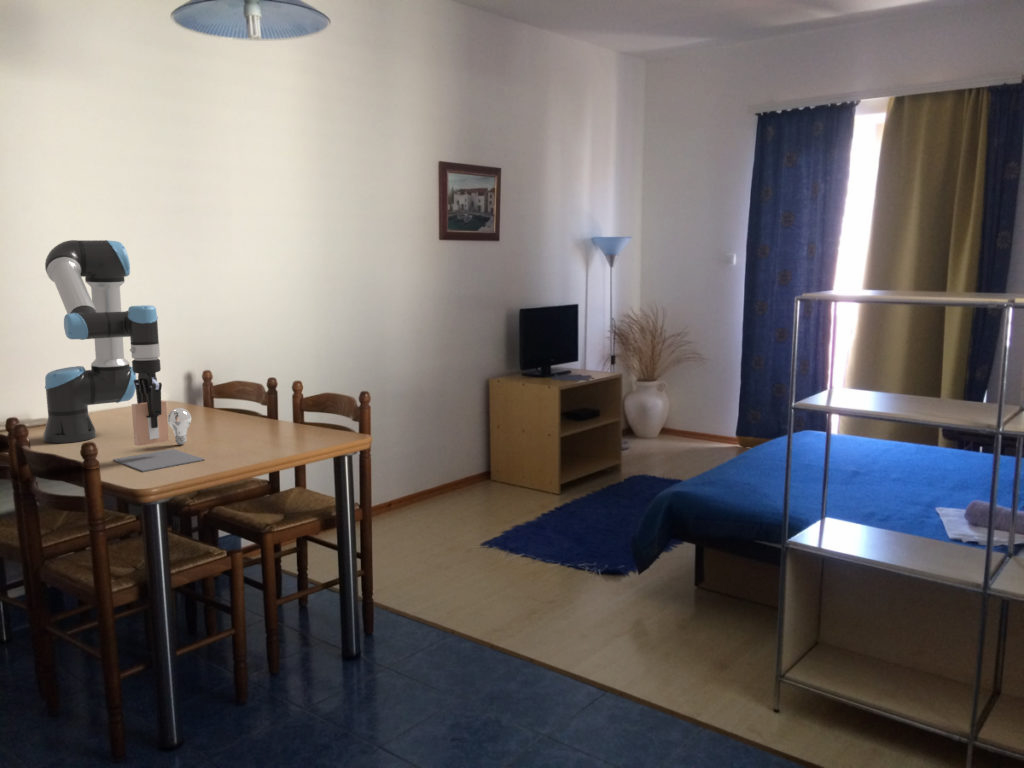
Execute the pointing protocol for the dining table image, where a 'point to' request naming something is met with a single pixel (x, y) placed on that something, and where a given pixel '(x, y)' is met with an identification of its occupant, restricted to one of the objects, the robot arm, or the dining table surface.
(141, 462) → the mat
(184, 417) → the light bulb
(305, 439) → the dining table surface
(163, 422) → the tile
